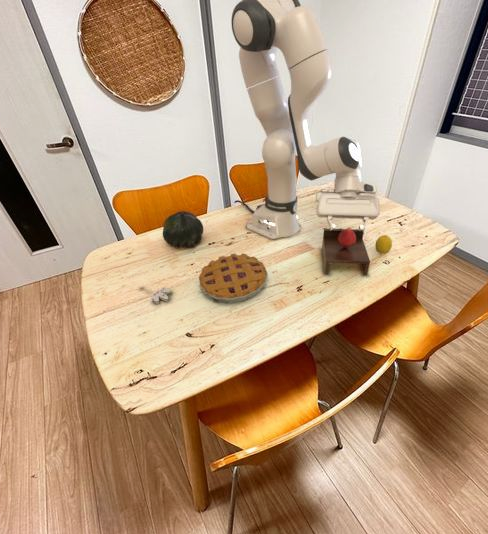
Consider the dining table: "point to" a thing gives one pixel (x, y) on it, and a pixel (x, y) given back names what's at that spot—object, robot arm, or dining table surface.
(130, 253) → the dining table surface
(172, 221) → the squash
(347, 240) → the red round solid
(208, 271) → the pie
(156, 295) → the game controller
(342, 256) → the shelf
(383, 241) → the lemon
